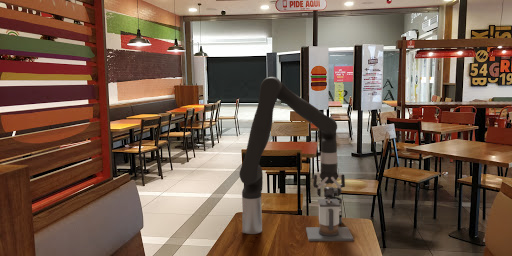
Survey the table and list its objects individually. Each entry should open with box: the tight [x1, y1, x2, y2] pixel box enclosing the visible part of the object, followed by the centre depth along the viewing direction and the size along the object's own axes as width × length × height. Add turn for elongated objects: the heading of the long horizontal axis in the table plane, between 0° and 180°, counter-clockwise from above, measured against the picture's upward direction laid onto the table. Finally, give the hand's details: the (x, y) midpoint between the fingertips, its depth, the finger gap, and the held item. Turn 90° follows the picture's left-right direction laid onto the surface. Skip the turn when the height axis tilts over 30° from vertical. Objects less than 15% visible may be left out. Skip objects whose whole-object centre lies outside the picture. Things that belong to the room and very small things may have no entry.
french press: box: [323, 178, 343, 226], centre depth 204 cm, size 12×9×23 cm
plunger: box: [323, 186, 335, 203], centre depth 187 cm, size 4×4×15 cm
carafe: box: [317, 198, 341, 237], centre depth 186 cm, size 9×12×15 cm
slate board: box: [305, 226, 354, 242], centre depth 189 cm, size 20×14×1 cm
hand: (328, 196), depth 187 cm, fingers open, 8 cm apart
